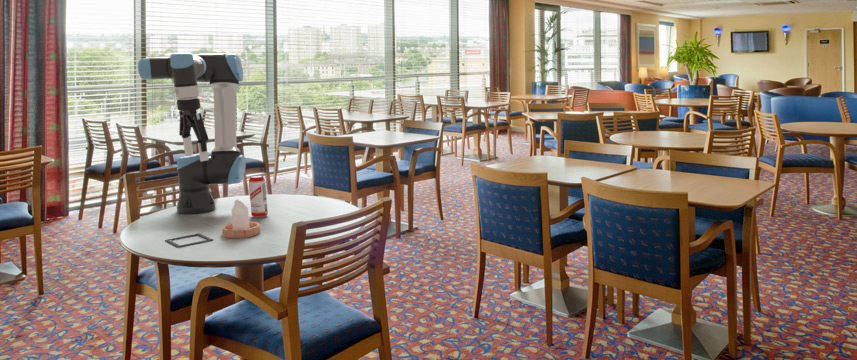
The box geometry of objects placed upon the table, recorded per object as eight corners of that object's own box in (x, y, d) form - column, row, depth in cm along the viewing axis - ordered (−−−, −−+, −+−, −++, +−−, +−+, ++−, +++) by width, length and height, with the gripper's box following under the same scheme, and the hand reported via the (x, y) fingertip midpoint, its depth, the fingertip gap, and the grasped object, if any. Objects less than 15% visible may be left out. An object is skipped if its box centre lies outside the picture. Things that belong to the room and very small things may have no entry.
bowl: (217, 234, 238) (216, 226, 237) (250, 227, 246) (249, 219, 245) (232, 240, 228) (231, 232, 228) (266, 233, 236) (265, 225, 236)
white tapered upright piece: (250, 197, 237) (243, 200, 231) (252, 230, 239) (246, 234, 233) (234, 197, 238) (227, 200, 232) (237, 230, 240) (230, 234, 234)
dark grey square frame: (165, 241, 231) (165, 239, 230) (199, 234, 238) (199, 233, 238) (178, 247, 222) (178, 246, 221) (213, 240, 229) (212, 239, 229)
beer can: (263, 218, 259) (260, 177, 256) (248, 218, 260) (245, 177, 257) (270, 214, 265) (267, 174, 262) (255, 214, 266) (252, 174, 264)
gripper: (164, 97, 238) (173, 155, 244) (191, 102, 220) (200, 165, 225) (184, 94, 243) (193, 151, 248) (212, 99, 224) (221, 160, 230)
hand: (196, 158), depth 237 cm, fingers open, 13 cm apart
